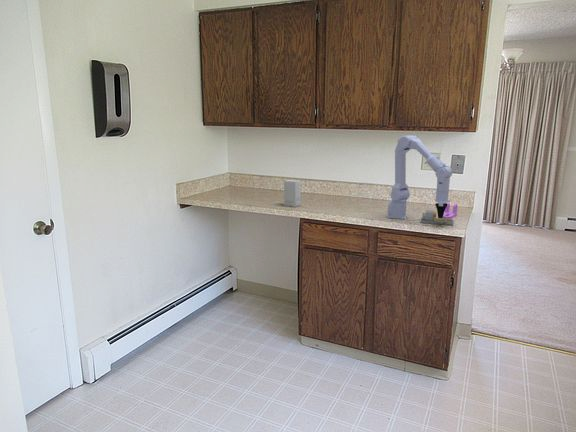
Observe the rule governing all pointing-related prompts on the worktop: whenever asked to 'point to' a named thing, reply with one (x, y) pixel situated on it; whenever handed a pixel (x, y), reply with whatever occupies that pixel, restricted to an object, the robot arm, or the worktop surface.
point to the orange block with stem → (433, 215)
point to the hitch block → (428, 215)
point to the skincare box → (292, 193)
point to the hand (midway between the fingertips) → (440, 217)
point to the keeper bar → (443, 219)
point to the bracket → (450, 214)
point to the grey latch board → (437, 222)
